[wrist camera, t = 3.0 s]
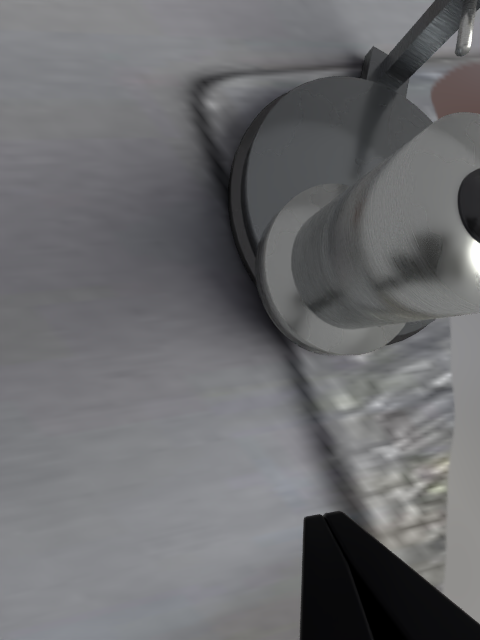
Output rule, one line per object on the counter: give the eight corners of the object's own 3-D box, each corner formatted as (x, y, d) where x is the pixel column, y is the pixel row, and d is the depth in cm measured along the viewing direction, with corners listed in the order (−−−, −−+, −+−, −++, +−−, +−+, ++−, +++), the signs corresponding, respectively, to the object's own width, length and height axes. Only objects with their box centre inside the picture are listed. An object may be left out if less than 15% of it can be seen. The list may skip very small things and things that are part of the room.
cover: (403, 350, 19) (607, 343, 11) (261, 361, 17) (391, 361, 9) (388, 202, 20) (567, 95, 12) (249, 190, 18) (357, 43, 9)
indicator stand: (364, 54, 23) (528, -156, 14) (403, 77, 24) (583, -107, 15) (349, 123, 22) (517, -52, 13) (391, 144, 23) (576, -5, 14)
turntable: (469, 340, 23) (496, 338, 22) (238, 356, 18) (249, 355, 17) (440, 111, 25) (464, 93, 23) (219, 68, 20) (228, 41, 18)
